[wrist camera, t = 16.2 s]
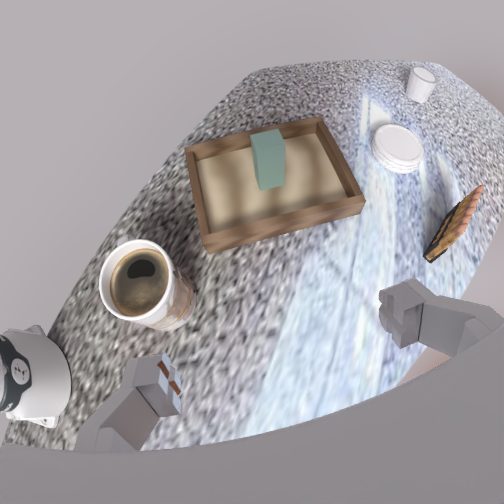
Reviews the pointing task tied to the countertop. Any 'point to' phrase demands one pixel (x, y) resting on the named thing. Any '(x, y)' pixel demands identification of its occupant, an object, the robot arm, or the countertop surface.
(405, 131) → the white round disc stack
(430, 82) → the white cylinder
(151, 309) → the mug
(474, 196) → the ammunition clip
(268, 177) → the grey-green rectangular block
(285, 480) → the robot arm
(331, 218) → the wooden serving tray
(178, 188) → the countertop surface
